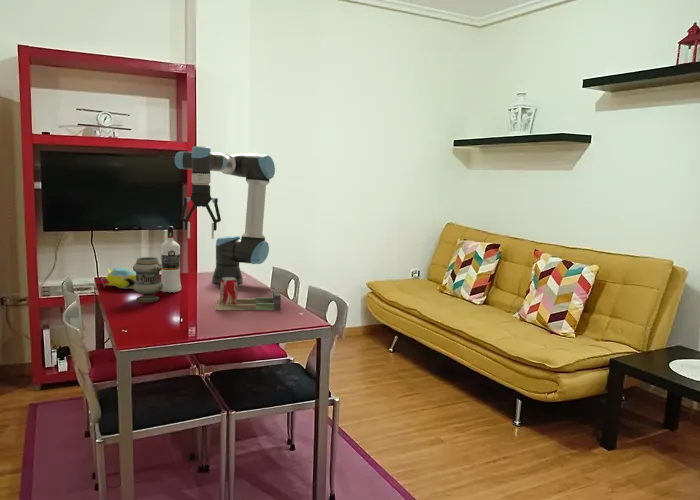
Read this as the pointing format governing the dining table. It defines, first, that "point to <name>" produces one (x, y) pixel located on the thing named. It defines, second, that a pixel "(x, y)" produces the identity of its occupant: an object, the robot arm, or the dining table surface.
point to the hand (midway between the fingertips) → (200, 238)
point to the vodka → (170, 264)
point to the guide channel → (253, 303)
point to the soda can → (228, 290)
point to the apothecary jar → (147, 278)
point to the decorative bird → (121, 278)
